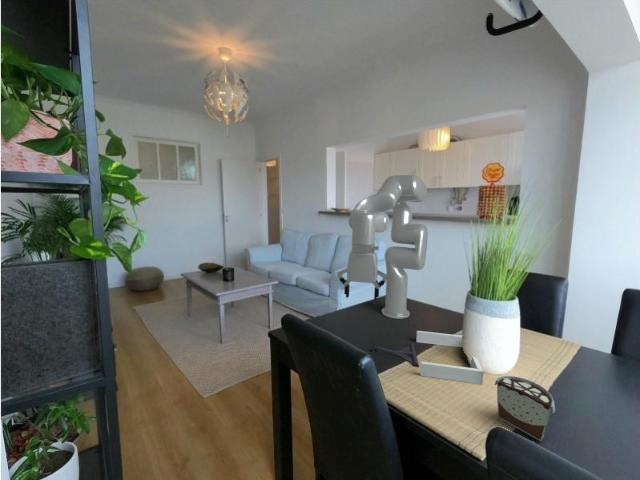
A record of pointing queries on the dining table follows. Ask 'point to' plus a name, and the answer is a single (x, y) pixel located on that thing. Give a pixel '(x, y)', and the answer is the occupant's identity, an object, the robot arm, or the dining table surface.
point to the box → (449, 371)
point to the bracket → (401, 353)
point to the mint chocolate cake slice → (524, 405)
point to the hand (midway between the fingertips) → (361, 297)
